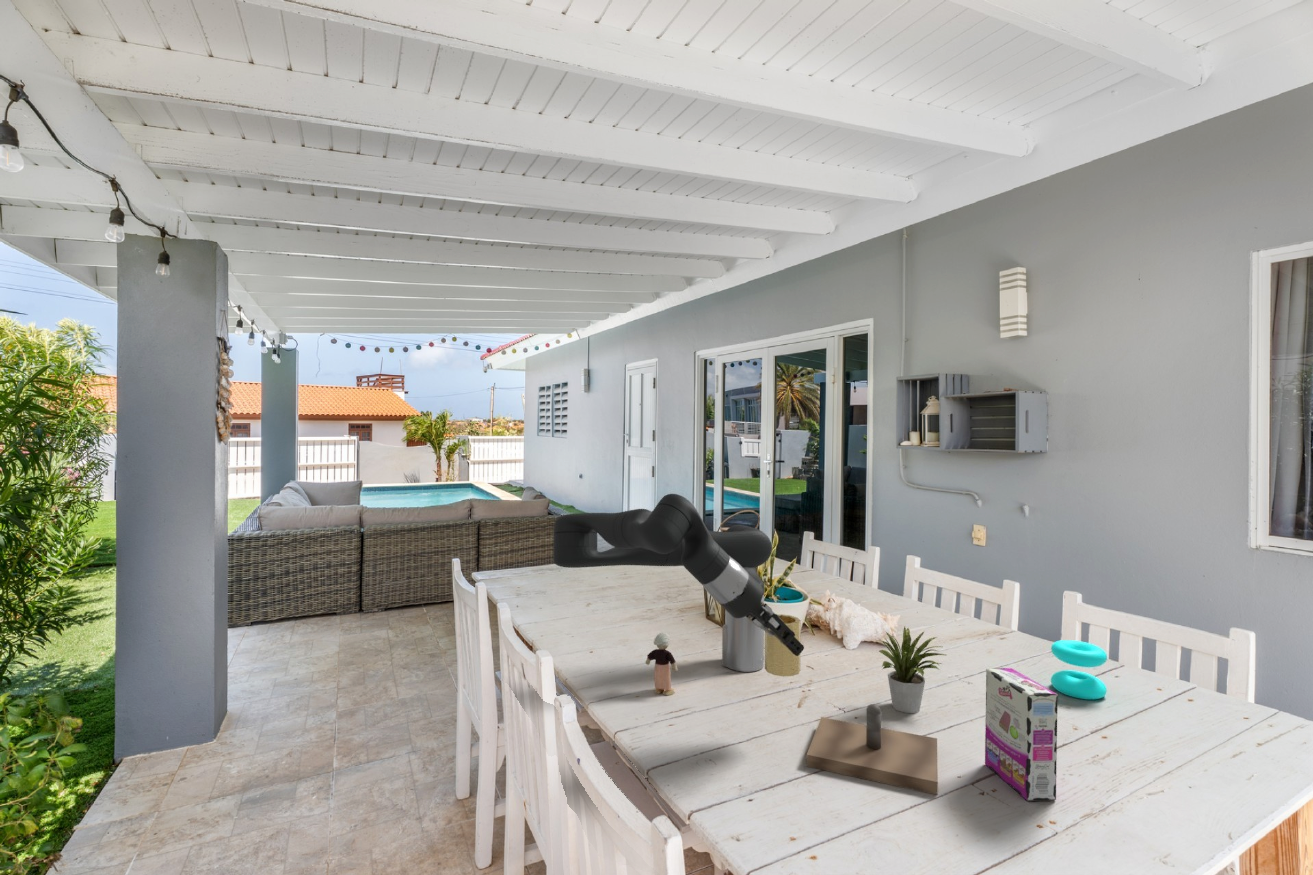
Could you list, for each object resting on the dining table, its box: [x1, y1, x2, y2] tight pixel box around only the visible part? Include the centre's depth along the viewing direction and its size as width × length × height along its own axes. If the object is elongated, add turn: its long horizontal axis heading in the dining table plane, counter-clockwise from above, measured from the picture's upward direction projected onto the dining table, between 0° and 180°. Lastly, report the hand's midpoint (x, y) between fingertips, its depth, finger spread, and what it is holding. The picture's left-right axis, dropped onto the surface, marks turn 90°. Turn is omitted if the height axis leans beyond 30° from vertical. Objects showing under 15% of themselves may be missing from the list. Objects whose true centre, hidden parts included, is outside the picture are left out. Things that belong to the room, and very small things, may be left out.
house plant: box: [875, 626, 946, 714], centre depth 126 cm, size 14×14×16 cm
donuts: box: [1050, 639, 1108, 700], centre depth 135 cm, size 10×10×10 cm
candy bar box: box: [984, 667, 1059, 802], centre depth 101 cm, size 11×5×16 cm, turn 5°
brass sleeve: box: [764, 614, 802, 677], centre depth 115 cm, size 6×6×9 cm
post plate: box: [806, 703, 939, 796], centre depth 108 cm, size 20×15×9 cm
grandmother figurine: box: [645, 632, 678, 696], centre depth 135 cm, size 8×4×13 cm, turn 71°
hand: (790, 644), depth 115 cm, fingers closed on brass sleeve, 6 cm apart
